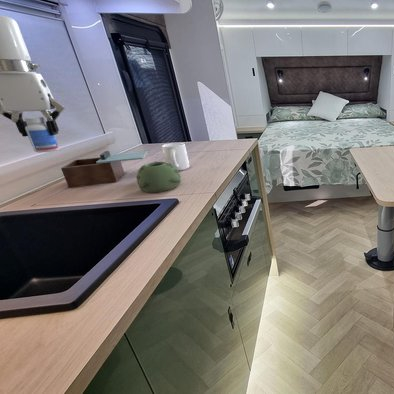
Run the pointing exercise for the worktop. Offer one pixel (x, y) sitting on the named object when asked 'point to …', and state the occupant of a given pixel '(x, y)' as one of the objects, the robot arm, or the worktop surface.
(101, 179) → the box
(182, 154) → the mug
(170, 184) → the green planter pot
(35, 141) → the pill bottle
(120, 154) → the sliding box lid
